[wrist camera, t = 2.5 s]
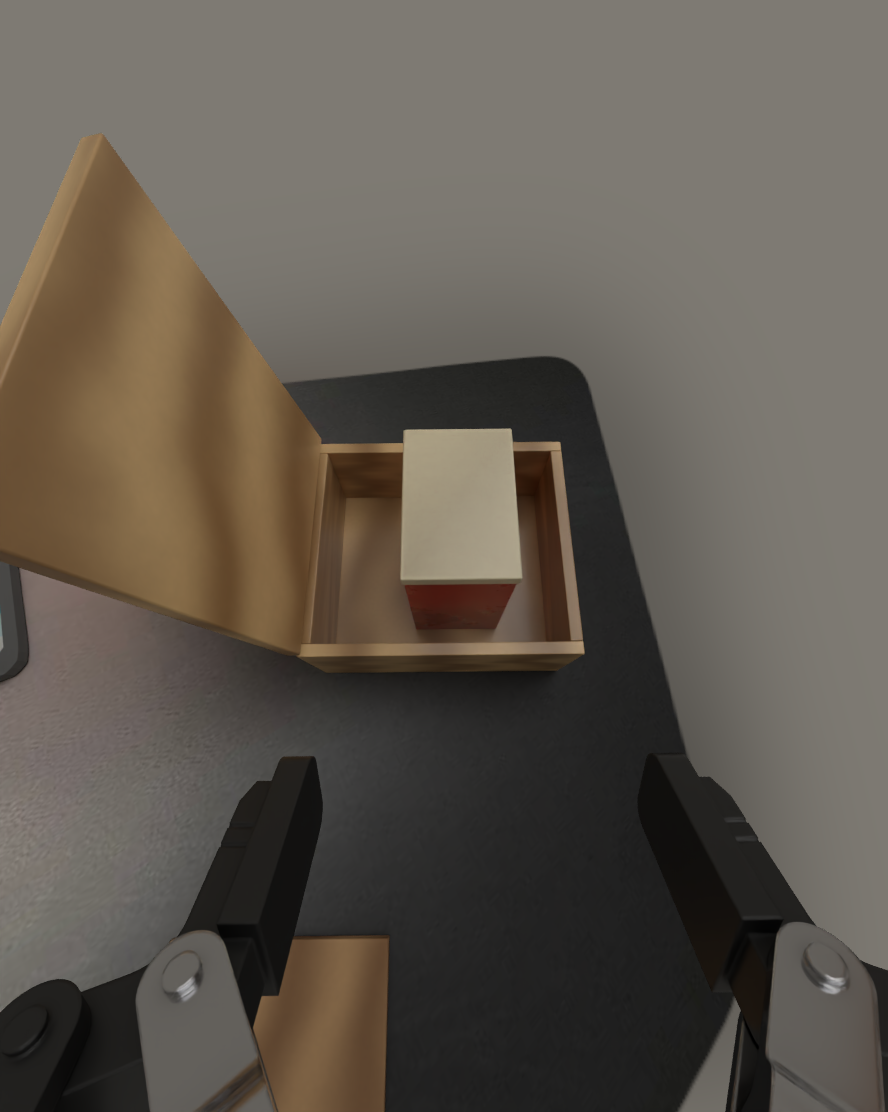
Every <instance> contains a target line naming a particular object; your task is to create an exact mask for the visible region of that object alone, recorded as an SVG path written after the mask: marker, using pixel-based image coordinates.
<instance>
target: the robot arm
mask: <svg viewBox="0 0 888 1112" xmlns="http://www.w3.org/2000/svg"><path fill="white" fill-rule="evenodd" d="M322 812H323V801H322V794H321V788H320V782H319V775H318V769H317V763H316V759H315V757H314V756H296V757H282V758H281V759H280V761H279V763H278V766H277V768H276V771H275V773H274V776H273V779H272V781H257V782H256V783H255V784H254V785H253V786H252V788H251V789H250V790H249V791H248V792H247V793H246V794H245V795H244V797H243V798H242V799H241V800H240V801H239V804H238V806H237V808H236V810H235V813H234V815H233V817H232V819H231V822H230V826H229V828H227V831H226V833H225V835H224V837H223V840H222V842H221V847H219V849H218V851H217V853H216V856H215V858H214V860H213V862H212V865H211V867H210V869H209V871H208V874H207V876H206V878H205V881H204V883H203V885H202V887H201V890H200V892H199V894H198V896H197V899H196V901H195V903H194V905H193V908H192V910H191V912H190V915H189V917H188V919H187V921H186V923H185V925H184V927H183V929H182V930H181V932H180V933H179V935H178V936H177V938H176V939H174V940H173V941H171V942H170V943H169V944H167V945H166V946H165V947H164V948H163V949H162V950H161V951H160V952H159V953H158V954H157V955H156V956H155V957H154V958H153V960H152V961H151V963H149V964H148V965H146V966H145V967H143V968H141V969H140V970H138V971H135V972H133V973H131V974H128V975H126V976H123V977H120V978H118V979H115V980H112V981H109V982H107V983H104V984H101V985H99V986H96V987H93V988H91V989H88V990H85V991H83V992H80V990H79V988H78V987H77V986H76V985H75V984H74V983H73V982H71V981H69V980H65V979H56V980H50V981H47V982H44V983H41V984H39V985H37V986H35V987H33V988H31V989H29V990H28V991H26V992H24V993H23V994H21V995H20V996H19V997H17V998H16V999H15V1000H13V1001H12V1002H11V1003H10V1004H9V1005H8V1006H7V1007H5V1008H4V1009H3V1010H2V1011H1V1012H0V1112H279V1111H278V1107H277V1104H276V1101H275V1097H274V1094H273V1091H272V1088H271V1084H270V1081H269V1078H268V1075H267V1071H266V1068H265V1065H264V1061H263V1058H262V1055H261V1052H260V1048H259V1045H258V1042H257V1038H256V1035H255V1032H254V1029H253V1026H254V1023H255V1019H256V1015H257V1012H258V1008H259V1004H260V1001H261V997H262V996H279V992H280V988H281V984H282V980H283V976H284V972H285V968H286V964H287V960H288V956H289V952H290V948H291V944H292V940H293V936H294V932H295V928H296V924H297V920H298V916H299V912H300V908H301V904H302V900H303V896H304V892H305V888H306V884H307V880H308V876H309V872H310V868H311V864H312V860H313V856H314V852H315V848H316V844H317V840H318V836H319V832H320V827H321V821H322ZM638 812H639V817H640V821H641V824H642V827H643V829H644V832H645V834H646V836H647V839H648V841H649V844H650V846H651V848H652V851H653V853H654V855H655V858H656V860H657V863H658V865H659V867H660V870H661V872H662V874H663V877H664V879H665V882H666V884H667V886H668V889H669V891H670V893H671V896H672V898H673V901H674V903H675V905H676V908H677V910H678V912H679V915H680V917H681V920H682V922H683V924H684V927H685V929H686V931H687V934H688V936H689V939H690V941H691V943H692V946H693V948H694V950H695V953H696V955H697V958H698V960H699V962H700V965H701V967H702V969H703V972H704V974H705V977H706V979H707V981H708V984H709V986H710V988H711V991H712V992H733V994H734V996H735V998H736V1000H737V1003H738V1005H739V1007H740V1009H741V1012H740V1014H739V1019H738V1024H737V1032H736V1040H735V1046H734V1053H733V1061H732V1068H731V1075H730V1083H729V1089H728V1097H727V1104H726V1111H725V1112H888V970H885V969H882V968H878V967H875V966H873V965H870V964H868V963H865V962H863V961H861V960H859V958H858V957H857V956H856V955H855V954H854V953H853V952H852V951H851V950H850V949H849V948H848V947H847V946H846V945H845V944H844V943H843V942H842V941H840V940H839V939H838V938H836V937H835V936H834V935H832V934H830V933H829V932H827V931H825V930H823V929H821V928H819V927H817V926H816V925H815V924H814V922H813V921H812V920H811V919H810V917H809V916H808V914H807V913H806V911H805V910H804V908H803V906H802V905H801V904H800V902H799V900H798V899H797V897H796V896H795V894H794V893H793V891H792V890H791V888H790V886H789V885H788V883H787V882H786V880H785V879H784V877H783V876H782V874H781V872H780V871H779V869H778V868H777V866H776V865H775V863H774V862H773V860H772V859H771V857H770V855H769V854H768V852H767V851H766V849H765V848H764V846H763V845H762V843H761V842H759V841H758V837H757V835H756V834H755V832H754V831H753V829H752V828H751V826H750V825H749V823H747V822H746V820H745V817H744V815H743V814H742V812H741V811H740V809H739V807H738V806H737V804H736V803H735V801H734V800H733V798H732V797H731V796H730V795H729V794H728V793H727V792H726V791H725V790H724V789H722V787H720V786H719V785H718V784H717V783H716V782H715V781H714V780H713V779H711V778H710V777H699V776H698V775H697V773H696V771H695V770H694V768H693V766H692V765H691V763H690V761H689V760H688V758H687V757H686V756H685V755H684V754H682V753H650V754H648V756H647V758H646V762H645V767H644V771H643V776H642V780H641V785H640V789H639V794H638Z"/></svg>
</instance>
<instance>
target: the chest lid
mask: <svg viewBox="0 0 888 1112" xmlns="http://www.w3.org/2000/svg"><path fill="white" fill-rule="evenodd" d="M320 448H321V438H320V436H319V435H318V434H317V432H316V431H315V429H314V428H313V427H312V425H311V424H310V422H309V421H308V420H307V418H306V417H305V415H304V414H303V413H302V411H301V410H300V408H299V407H298V406H297V404H296V403H295V401H294V400H293V399H292V397H291V396H290V394H289V393H288V392H287V390H286V389H285V387H284V386H283V385H282V383H281V382H280V381H279V379H278V378H277V376H276V375H275V374H274V372H273V371H272V369H271V368H270V367H269V365H268V364H267V362H266V361H265V360H264V358H263V357H262V356H261V354H260V353H259V351H258V350H257V348H256V347H255V346H254V344H253V343H252V341H251V340H250V339H249V337H248V336H247V334H246V333H245V332H244V330H243V329H242V327H241V326H240V325H239V323H238V322H237V320H236V319H235V318H234V316H233V315H232V314H231V312H230V311H229V309H228V308H227V306H226V305H225V304H224V302H223V301H222V300H221V298H220V297H219V295H218V294H217V292H216V291H215V290H214V288H213V287H212V285H211V284H210V283H209V281H208V280H207V279H206V278H205V276H204V274H203V273H202V272H201V270H200V269H199V267H198V266H197V265H196V263H195V262H194V261H193V259H192V258H191V256H190V255H189V253H188V252H187V251H186V249H185V248H184V247H183V245H182V244H181V242H180V241H179V239H178V238H177V237H176V235H175V234H174V232H173V231H172V230H171V228H170V227H169V225H168V224H167V223H166V221H165V220H164V218H163V217H162V216H161V214H160V213H159V212H158V210H157V209H156V207H155V206H154V204H153V203H152V202H151V200H150V199H149V197H148V196H147V195H146V193H145V192H144V190H143V189H142V188H141V186H140V185H139V183H138V182H137V181H136V179H135V178H134V176H133V175H132V174H131V172H130V171H129V170H128V168H127V167H126V166H125V164H124V163H123V161H122V160H121V158H120V157H119V156H118V154H117V153H116V151H115V150H114V149H113V147H112V146H111V144H110V143H109V142H108V140H107V139H106V137H105V136H104V135H103V134H102V133H100V134H96V135H91V136H88V137H83V138H82V139H81V140H80V143H79V145H78V147H77V149H76V152H75V154H74V156H73V159H72V161H71V163H70V166H69V168H68V170H67V172H66V175H65V177H64V179H63V182H62V184H61V187H60V189H59V191H58V193H57V196H56V198H55V200H54V203H53V205H52V207H51V210H50V212H49V214H48V216H47V219H46V221H45V223H44V226H43V228H42V231H41V233H40V235H39V237H38V240H37V242H36V244H35V247H34V249H33V251H32V254H31V256H30V258H29V261H28V263H27V265H26V267H25V270H24V272H23V274H22V277H21V279H20V282H19V284H18V286H17V288H16V291H15V293H14V295H13V298H12V300H11V302H10V305H9V307H8V309H7V311H6V314H5V316H4V318H3V321H2V323H1V325H0V561H1V562H4V563H7V564H10V565H13V566H16V567H19V568H22V569H25V570H28V571H31V572H34V573H37V574H40V575H43V576H46V577H49V578H52V579H55V580H59V581H62V582H65V583H68V584H71V585H74V586H77V587H80V588H83V589H86V590H89V591H92V592H95V593H98V594H101V595H104V596H107V597H110V598H113V599H116V600H119V601H122V602H126V603H129V604H132V605H135V606H138V607H141V608H144V609H147V610H150V611H153V612H156V613H159V614H162V615H165V616H168V617H171V618H174V619H177V620H180V621H183V622H186V623H190V624H193V625H196V626H199V627H202V628H205V629H208V630H211V631H214V632H217V633H220V634H223V635H226V636H229V637H232V638H235V639H238V640H241V641H244V642H247V643H250V644H254V645H257V646H260V647H263V648H266V649H269V650H272V651H275V652H278V653H281V654H284V655H287V656H290V655H300V650H301V640H302V630H303V620H304V610H305V600H306V590H307V579H308V569H309V559H310V549H311V539H312V529H313V519H314V508H315V498H316V488H317V478H318V468H319V458H320Z"/></svg>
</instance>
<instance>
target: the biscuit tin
mask: <svg viewBox="0 0 888 1112" xmlns="http://www.w3.org/2000/svg"><path fill="white" fill-rule="evenodd" d="M521 580H522V564H521V550H520V537H519V523H518V509H517V496H516V482H515V468H514V455H513V441H512V430H511V429H439V430H404V432H403V472H402V513H401V553H400V581H401V584H402V585H404V586H405V590H406V594H407V598H408V601H409V605H410V609H411V612H412V616H413V620H414V624H415V627H416V629H417V630H418V629H496V627H497V625H498V623H499V621H500V619H501V617H502V614H503V612H504V610H505V608H506V606H507V604H508V602H509V599H510V597H511V595H512V593H513V591H514V589H515V587H516V584H519V583H520V582H521Z"/></svg>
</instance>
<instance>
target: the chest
mask: <svg viewBox="0 0 888 1112" xmlns="http://www.w3.org/2000/svg"><path fill="white" fill-rule="evenodd" d="M513 455H514V468H515V482H516V496H517V509H518V523H519V537H520V550H521V564H522V580H521V582H520V583H519V584H516V587H515V589H514V591H513V593H512V595H511V597H510V599H509V602H508V604H507V606H506V608H505V610H504V612H503V614H502V617H501V619H500V621H499V623H498V625H497V627H496V629H418V630H417V629H416V627H415V624H414V620H413V616H412V612H411V609H410V605H409V601H408V598H407V594H406V590H405V586H404V585H402V584H401V581H400V553H401V513H402V472H403V443H386V444H321V448H320V458H319V468H318V478H317V488H316V498H315V508H314V519H313V529H312V539H311V549H310V559H309V569H308V579H307V590H306V600H305V610H304V620H303V630H302V640H301V650H300V655H297V657H298V658H300V659H302V660H304V661H305V662H307V663H309V664H311V665H313V666H315V667H316V668H318V669H320V670H322V671H324V672H325V673H370V672H467V671H557V670H559V669H560V668H562V667H563V666H565V665H567V664H568V663H570V662H572V661H573V660H575V659H577V658H578V657H580V656H582V655H583V654H584V653H585V652H584V643H583V635H582V626H581V618H580V609H579V600H578V592H577V583H576V575H575V566H574V557H573V549H572V540H571V531H570V523H569V514H568V506H567V497H566V488H565V480H564V471H563V462H562V454H561V445H560V442H513Z"/></svg>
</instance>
